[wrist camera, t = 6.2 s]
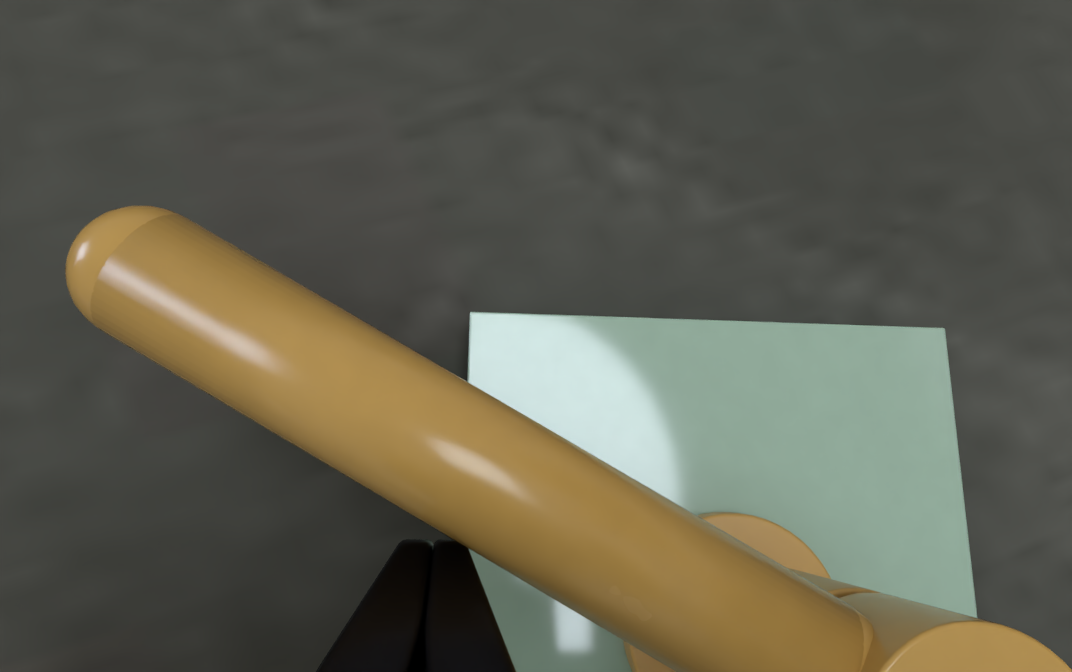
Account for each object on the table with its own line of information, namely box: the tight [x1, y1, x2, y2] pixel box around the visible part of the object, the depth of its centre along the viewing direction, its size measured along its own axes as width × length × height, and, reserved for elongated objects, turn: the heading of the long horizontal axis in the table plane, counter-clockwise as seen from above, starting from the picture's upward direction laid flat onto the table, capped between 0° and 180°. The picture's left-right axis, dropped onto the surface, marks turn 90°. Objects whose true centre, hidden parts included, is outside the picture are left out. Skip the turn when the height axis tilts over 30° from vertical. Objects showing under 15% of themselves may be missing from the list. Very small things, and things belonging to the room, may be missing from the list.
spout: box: [65, 206, 1072, 672], centre depth 9 cm, size 14×3×3 cm, turn 60°
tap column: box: [623, 512, 883, 672], centre depth 13 cm, size 5×5×6 cm
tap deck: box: [467, 312, 977, 672], centre depth 16 cm, size 14×12×2 cm
